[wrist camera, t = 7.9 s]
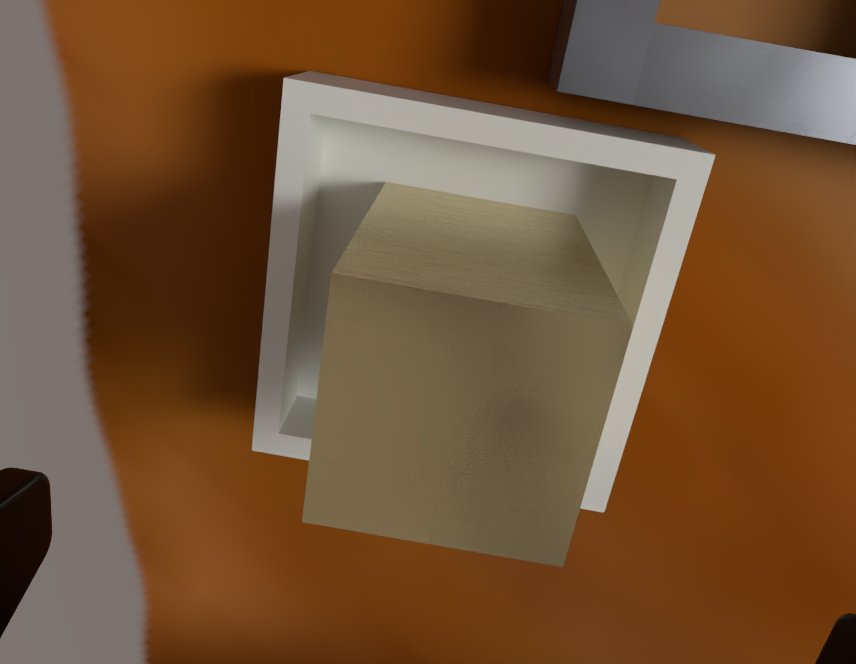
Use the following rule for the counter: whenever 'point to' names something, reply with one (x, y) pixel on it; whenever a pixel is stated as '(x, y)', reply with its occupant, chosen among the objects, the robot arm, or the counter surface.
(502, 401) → the block
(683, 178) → the parts tray
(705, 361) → the counter surface
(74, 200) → the counter surface
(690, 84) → the grey rectangular frame
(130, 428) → the counter surface
